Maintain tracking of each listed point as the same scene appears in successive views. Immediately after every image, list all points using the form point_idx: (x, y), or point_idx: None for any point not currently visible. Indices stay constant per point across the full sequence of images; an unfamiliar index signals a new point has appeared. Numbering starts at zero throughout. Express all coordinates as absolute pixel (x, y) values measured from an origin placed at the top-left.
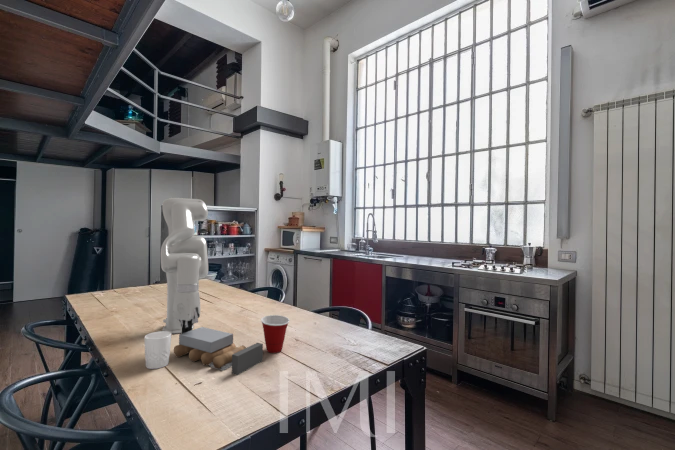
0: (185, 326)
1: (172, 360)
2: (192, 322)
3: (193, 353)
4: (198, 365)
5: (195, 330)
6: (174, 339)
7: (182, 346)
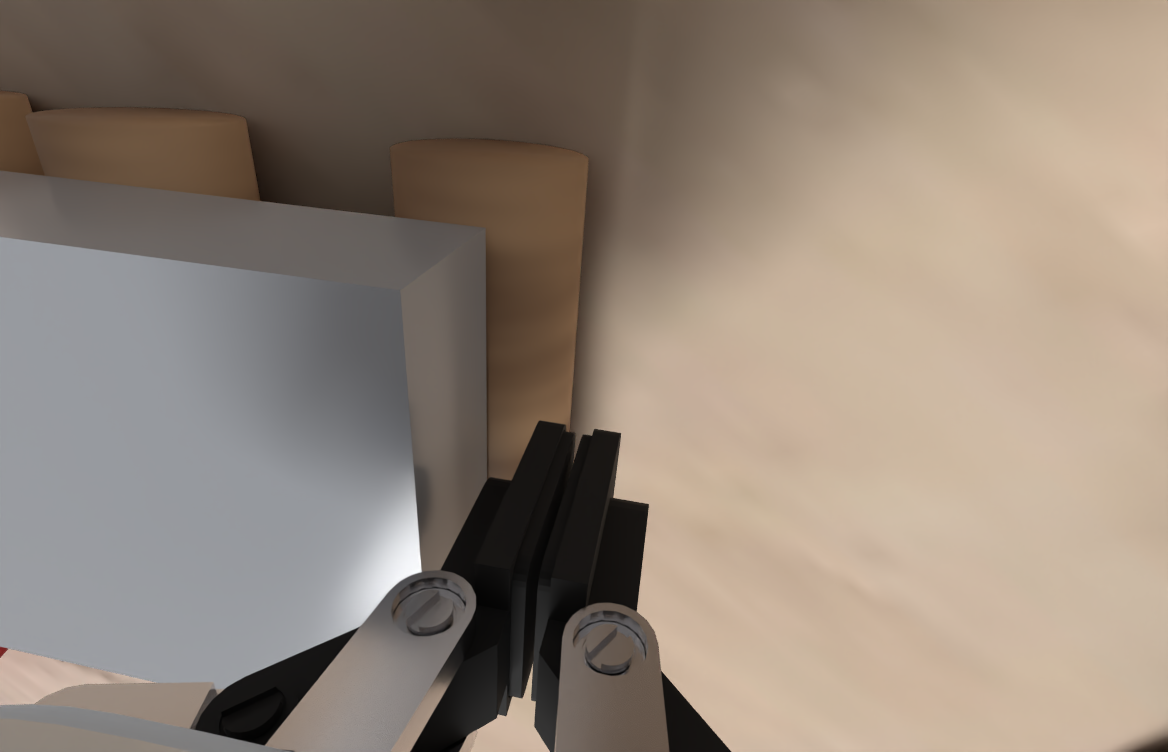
0: (463, 604)
1: (470, 3)
2: (176, 715)
3: (102, 119)
4: (53, 50)
5: (350, 589)
6: (1062, 600)
7: (405, 214)
